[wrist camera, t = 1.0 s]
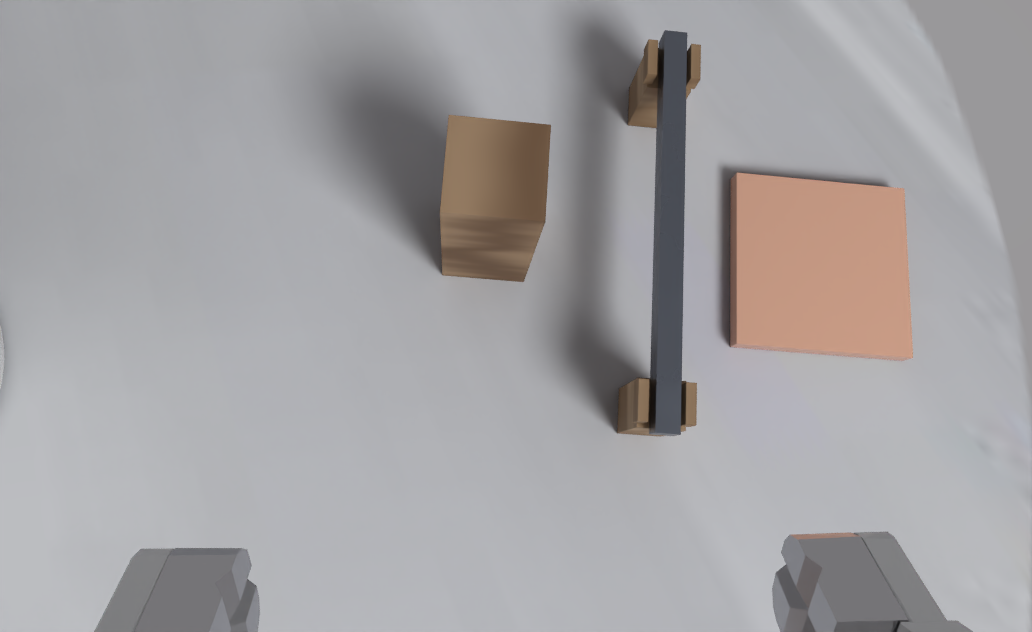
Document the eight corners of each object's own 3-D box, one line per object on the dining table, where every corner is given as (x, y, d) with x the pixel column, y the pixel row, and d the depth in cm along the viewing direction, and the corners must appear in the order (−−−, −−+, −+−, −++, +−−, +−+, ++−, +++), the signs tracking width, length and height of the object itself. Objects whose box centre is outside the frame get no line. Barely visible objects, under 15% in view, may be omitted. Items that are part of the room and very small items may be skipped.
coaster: (730, 347, 43) (736, 343, 42) (730, 179, 45) (736, 172, 44) (902, 360, 43) (913, 357, 42) (894, 194, 45) (904, 188, 44)
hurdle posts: (613, 433, 41) (637, 425, 36) (625, 87, 46) (648, 36, 40) (664, 436, 41) (696, 429, 36) (672, 92, 46) (700, 41, 40)
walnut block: (442, 275, 42) (440, 211, 32) (449, 198, 43) (448, 115, 33) (523, 282, 42) (545, 221, 33) (528, 205, 43) (550, 124, 34)
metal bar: (648, 434, 37) (655, 432, 36) (658, 43, 41) (664, 30, 40) (673, 436, 37) (680, 434, 36) (680, 45, 41) (687, 32, 40)
